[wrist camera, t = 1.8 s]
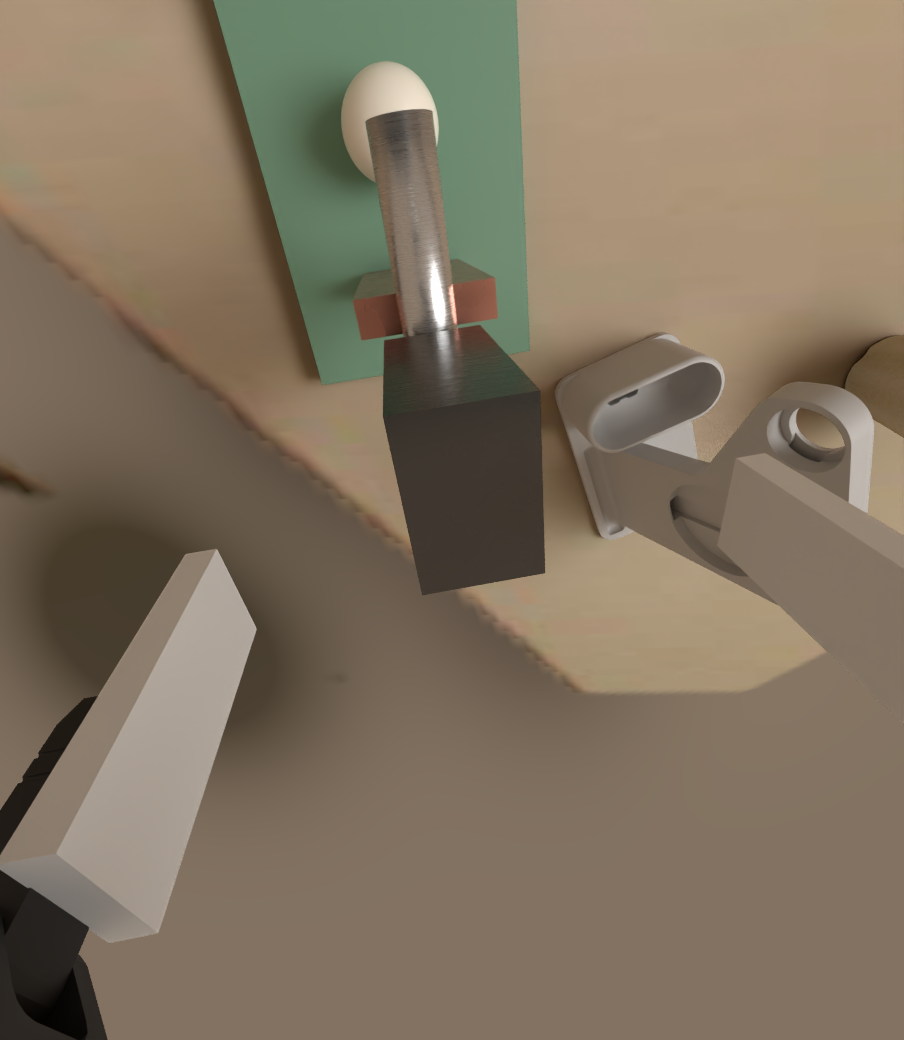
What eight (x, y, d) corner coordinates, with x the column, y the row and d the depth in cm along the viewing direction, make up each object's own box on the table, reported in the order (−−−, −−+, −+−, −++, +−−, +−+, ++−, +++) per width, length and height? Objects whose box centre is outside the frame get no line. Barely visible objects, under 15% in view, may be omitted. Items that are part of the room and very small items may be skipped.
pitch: (97, -438, 18) (-5, -671, 13) (488, -482, 18) (523, -720, 14) (324, 379, 35) (315, 403, 30) (524, 346, 35) (545, 365, 30)
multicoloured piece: (341, 164, 27) (236, 30, 8) (446, 148, 27) (585, -18, 8) (388, 390, 34) (391, 600, 15) (470, 376, 34) (575, 567, 15)
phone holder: (549, 378, 37) (663, 489, 22) (674, 320, 35) (889, 393, 20) (600, 540, 46) (706, 696, 31) (702, 498, 45) (863, 639, 30)
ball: (359, 55, 25) (354, 20, 20) (447, 105, 26) (459, 83, 22) (334, 165, 27) (324, 154, 23) (416, 205, 28) (421, 202, 24)
